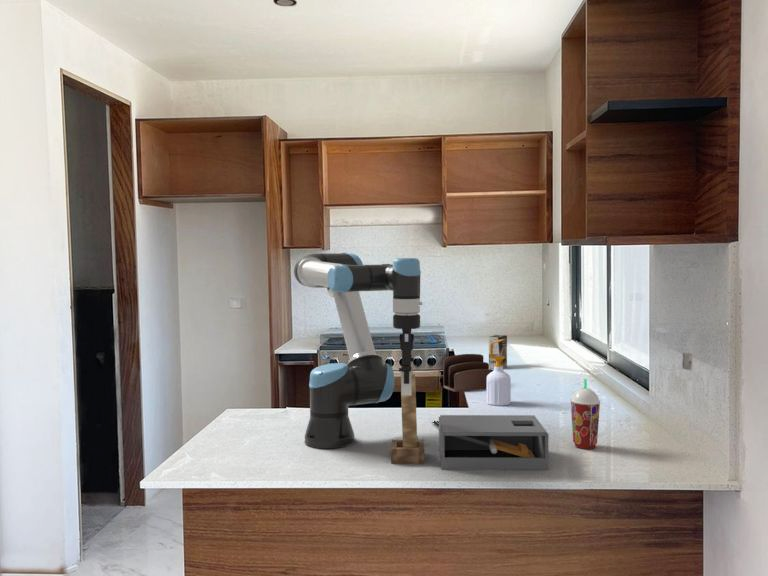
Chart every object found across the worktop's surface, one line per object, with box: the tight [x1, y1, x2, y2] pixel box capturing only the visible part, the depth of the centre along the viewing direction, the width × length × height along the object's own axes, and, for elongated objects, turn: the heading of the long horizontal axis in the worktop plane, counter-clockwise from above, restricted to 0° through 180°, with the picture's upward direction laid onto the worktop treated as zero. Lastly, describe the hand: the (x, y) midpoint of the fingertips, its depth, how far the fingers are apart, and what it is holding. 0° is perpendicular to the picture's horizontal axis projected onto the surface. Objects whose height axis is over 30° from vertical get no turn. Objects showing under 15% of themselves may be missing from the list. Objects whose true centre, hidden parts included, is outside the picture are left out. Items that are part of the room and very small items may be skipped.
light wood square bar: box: [400, 371, 418, 448], centre depth 181 cm, size 4×4×24 cm
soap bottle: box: [486, 339, 512, 407], centre depth 247 cm, size 9×9×25 cm
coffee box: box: [488, 334, 508, 370], centre depth 326 cm, size 9×6×16 cm
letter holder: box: [442, 353, 494, 393], centre depth 277 cm, size 10×20×14 cm, turn 113°
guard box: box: [438, 414, 549, 471], centre depth 180 cm, size 28×18×10 cm, turn 87°
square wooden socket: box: [390, 439, 425, 465], centre depth 181 cm, size 9×9×4 cm
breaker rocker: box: [454, 436, 536, 458], centre depth 180 cm, size 24×15×2 cm, turn 88°
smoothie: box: [570, 378, 601, 450], centre depth 191 cm, size 8×8×20 cm
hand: (406, 389), depth 181 cm, fingers open, 13 cm apart
